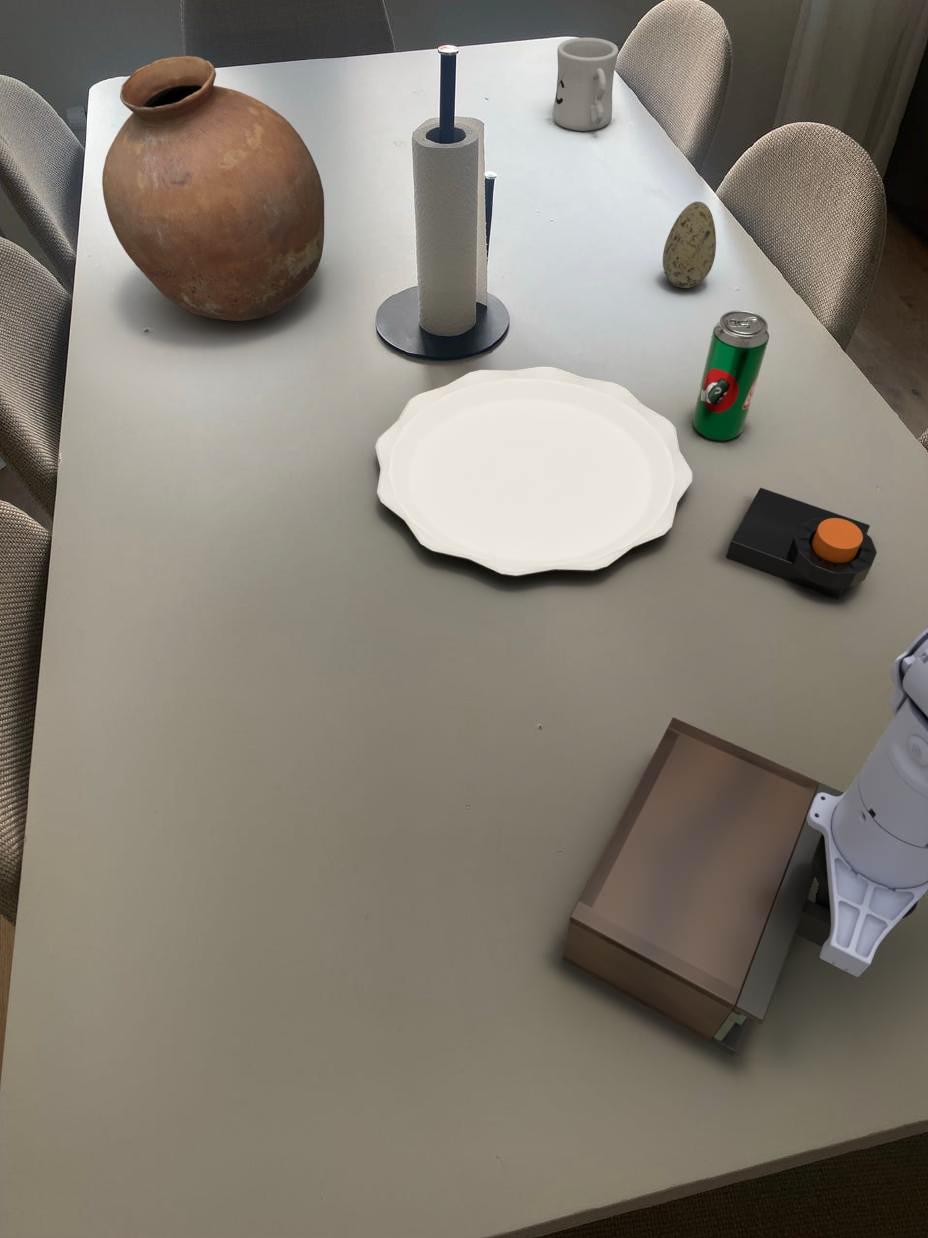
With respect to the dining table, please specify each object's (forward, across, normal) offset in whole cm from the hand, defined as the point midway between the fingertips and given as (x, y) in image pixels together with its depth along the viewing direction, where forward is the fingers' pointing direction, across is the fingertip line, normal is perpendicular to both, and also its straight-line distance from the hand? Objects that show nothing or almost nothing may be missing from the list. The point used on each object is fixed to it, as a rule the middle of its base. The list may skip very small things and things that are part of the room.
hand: (834, 905), depth 56 cm
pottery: (+5, -41, -82) cm, 91 cm away
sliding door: (+3, +4, -1) cm, 6 cm away
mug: (+5, -106, -67) cm, 125 cm away
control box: (+4, -33, -12) cm, 35 cm away
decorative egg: (+5, -70, -37) cm, 79 cm away
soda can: (+5, -46, -24) cm, 52 cm away
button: (+1, -31, -8) cm, 32 cm away
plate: (+5, -30, -36) cm, 48 cm away
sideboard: (+4, +2, -8) cm, 10 cm away
